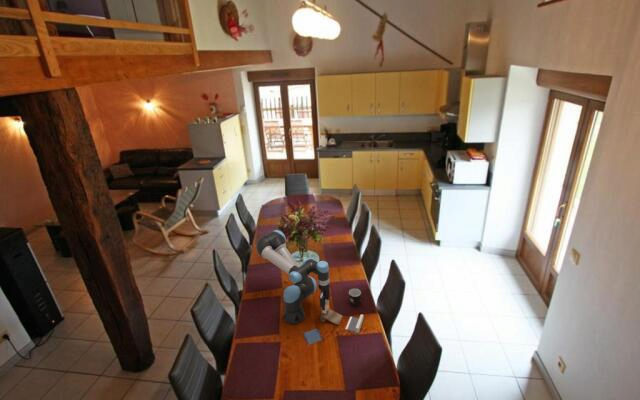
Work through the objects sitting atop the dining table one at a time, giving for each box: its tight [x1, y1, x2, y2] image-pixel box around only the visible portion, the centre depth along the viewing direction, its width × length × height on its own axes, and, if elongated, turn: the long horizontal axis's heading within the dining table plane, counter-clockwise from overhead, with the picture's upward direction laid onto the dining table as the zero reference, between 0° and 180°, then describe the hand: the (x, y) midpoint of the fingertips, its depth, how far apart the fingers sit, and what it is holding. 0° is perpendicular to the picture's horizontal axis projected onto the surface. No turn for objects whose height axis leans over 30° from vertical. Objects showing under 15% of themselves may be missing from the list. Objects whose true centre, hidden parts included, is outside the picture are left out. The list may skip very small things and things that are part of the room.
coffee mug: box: [348, 288, 365, 307], centre depth 243 cm, size 12×9×10 cm
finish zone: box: [345, 314, 364, 334], centre depth 226 cm, size 9×13×4 cm
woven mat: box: [302, 328, 323, 346], centre depth 219 cm, size 10×11×2 cm
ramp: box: [319, 308, 344, 326], centre depth 232 cm, size 13×9×6 cm
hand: (325, 310), depth 232 cm, fingers closed on ball, 5 cm apart
